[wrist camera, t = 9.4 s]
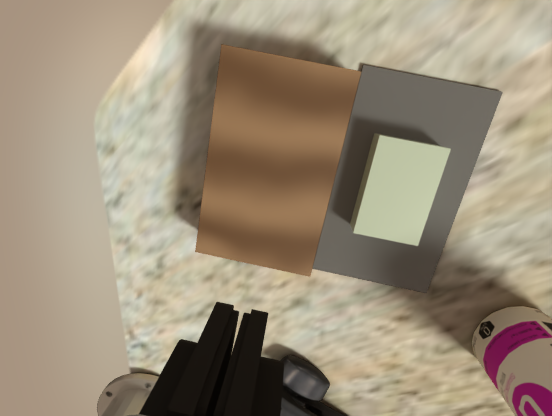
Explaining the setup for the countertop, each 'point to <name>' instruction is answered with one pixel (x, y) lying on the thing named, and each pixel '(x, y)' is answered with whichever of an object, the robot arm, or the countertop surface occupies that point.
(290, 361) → the can opener
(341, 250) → the mat
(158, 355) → the countertop surface
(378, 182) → the pale green flat block
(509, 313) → the supplement can
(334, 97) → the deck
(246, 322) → the robot arm
